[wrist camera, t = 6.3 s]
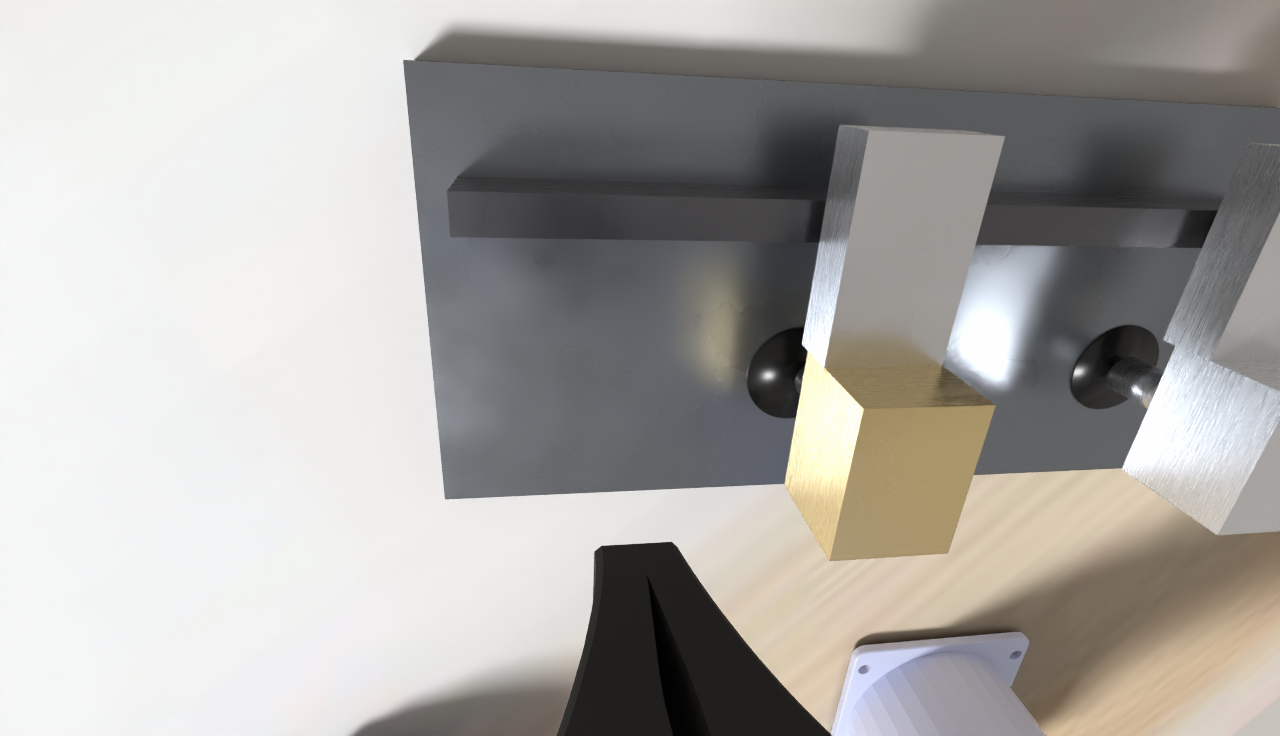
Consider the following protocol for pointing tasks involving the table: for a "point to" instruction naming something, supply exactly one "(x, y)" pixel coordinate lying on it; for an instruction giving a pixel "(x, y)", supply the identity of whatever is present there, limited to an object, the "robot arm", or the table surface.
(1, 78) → the table surface
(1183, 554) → the table surface
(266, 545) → the table surface
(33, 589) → the table surface
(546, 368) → the plate
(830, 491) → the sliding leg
